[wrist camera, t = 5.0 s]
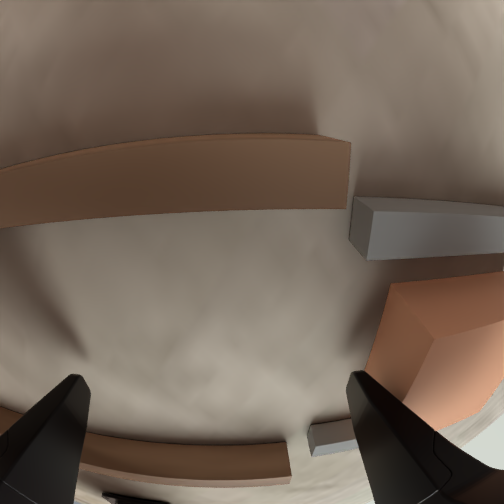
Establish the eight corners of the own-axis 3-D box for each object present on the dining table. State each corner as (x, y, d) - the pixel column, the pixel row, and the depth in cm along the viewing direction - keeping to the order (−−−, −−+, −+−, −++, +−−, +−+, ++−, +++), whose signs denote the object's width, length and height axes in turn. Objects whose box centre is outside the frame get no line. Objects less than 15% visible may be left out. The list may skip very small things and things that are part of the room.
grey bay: (465, 394, 13) (474, 407, 12) (307, 436, 12) (311, 457, 11) (545, 211, 8) (563, 222, 7) (353, 196, 7) (373, 211, 6)
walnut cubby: (284, 451, 13) (289, 483, 11) (-22, 404, 12) (-31, 423, 10) (319, 134, 6) (351, 142, 5) (-112, 215, 5) (-133, 229, 3)
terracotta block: (452, 370, 12) (479, 411, 9) (350, 396, 11) (370, 451, 9) (498, 267, 9) (543, 305, 6) (386, 278, 9) (434, 339, 6)
